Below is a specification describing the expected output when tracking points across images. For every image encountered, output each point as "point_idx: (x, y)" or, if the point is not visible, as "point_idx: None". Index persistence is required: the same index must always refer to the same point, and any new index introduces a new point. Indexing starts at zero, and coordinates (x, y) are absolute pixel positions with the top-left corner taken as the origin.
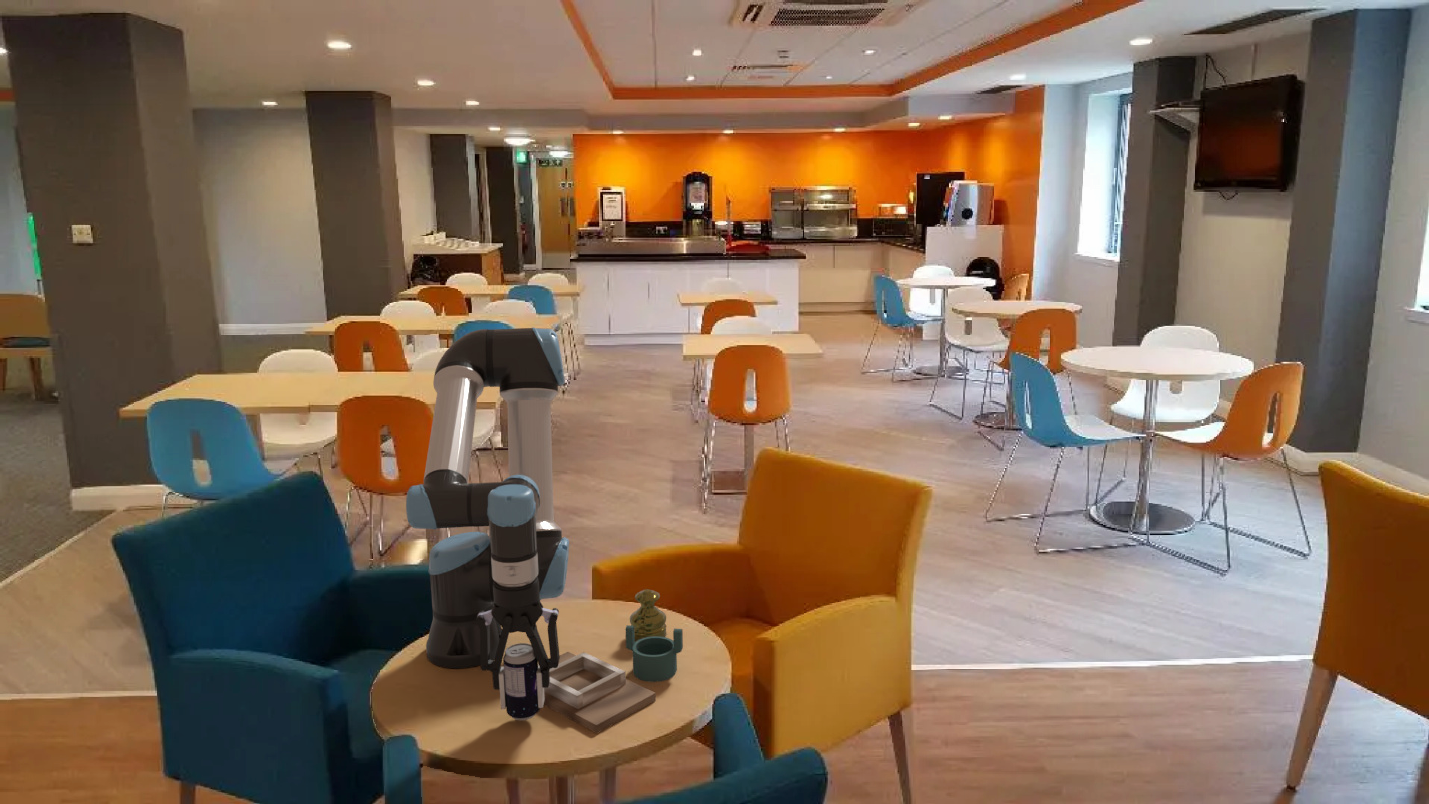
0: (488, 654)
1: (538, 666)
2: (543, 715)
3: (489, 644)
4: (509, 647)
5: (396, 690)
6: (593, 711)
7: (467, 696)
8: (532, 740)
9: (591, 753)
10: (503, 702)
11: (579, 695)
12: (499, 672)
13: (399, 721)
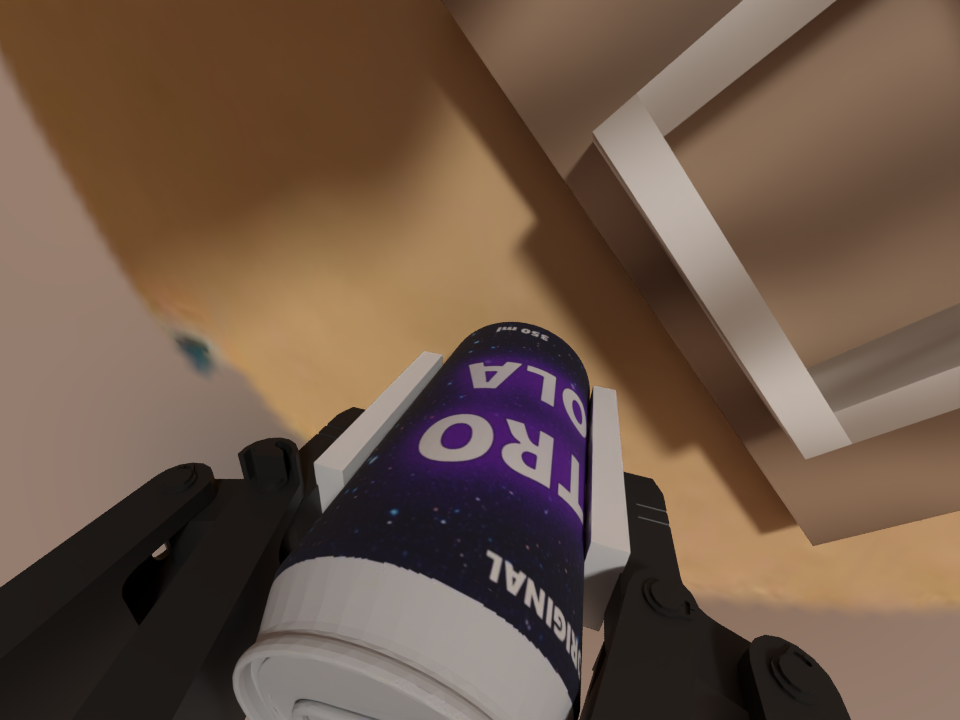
0: (132, 627)
1: (590, 557)
2: (604, 342)
3: (18, 673)
4: (251, 661)
5: (10, 2)
6: (846, 455)
7: (282, 106)
8: None
9: (731, 595)
10: None
11: (822, 451)
12: None
13: (141, 260)
